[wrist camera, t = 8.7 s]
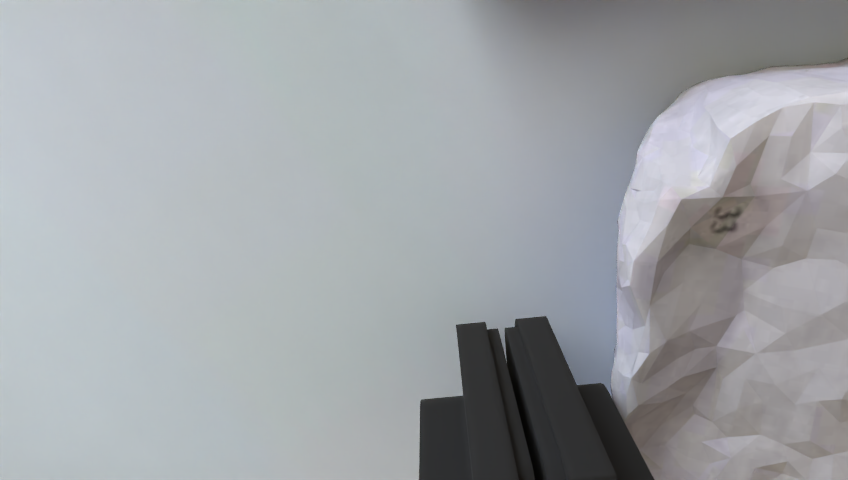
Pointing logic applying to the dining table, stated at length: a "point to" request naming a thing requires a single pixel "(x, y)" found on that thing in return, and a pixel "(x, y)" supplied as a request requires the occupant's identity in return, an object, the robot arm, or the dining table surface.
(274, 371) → the dining table surface
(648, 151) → the stone block
